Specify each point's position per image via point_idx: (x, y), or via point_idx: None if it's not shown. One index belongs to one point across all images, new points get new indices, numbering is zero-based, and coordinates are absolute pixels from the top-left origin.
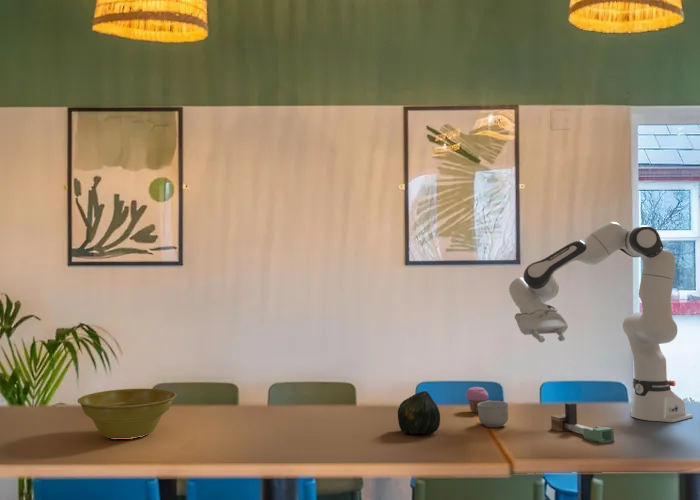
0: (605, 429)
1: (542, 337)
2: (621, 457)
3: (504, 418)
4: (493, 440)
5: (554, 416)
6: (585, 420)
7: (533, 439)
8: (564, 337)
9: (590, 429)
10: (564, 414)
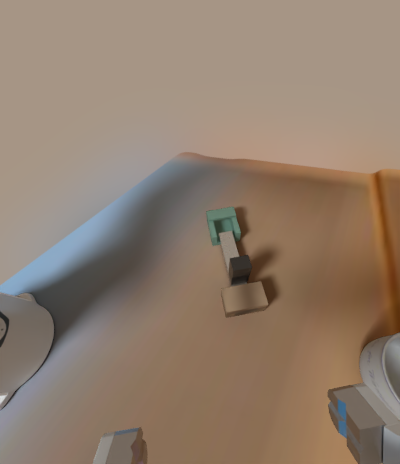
0: (219, 209)
1: (359, 407)
2: (240, 170)
3: (375, 339)
4: (394, 261)
5: (264, 296)
6: (155, 362)
7: (321, 253)
8: (101, 441)
9: (235, 223)
10: (234, 308)
